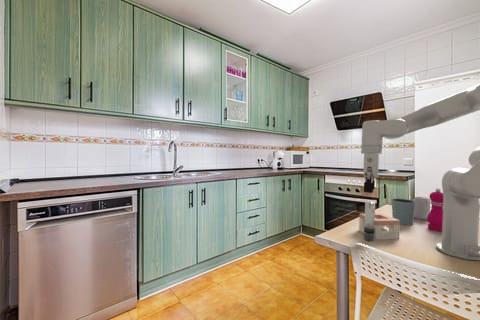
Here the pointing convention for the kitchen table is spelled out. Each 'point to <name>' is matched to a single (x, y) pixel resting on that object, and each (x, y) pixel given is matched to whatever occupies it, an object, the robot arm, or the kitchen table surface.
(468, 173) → the robot arm
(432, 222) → the pepper mill
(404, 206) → the grey teal tapered bin
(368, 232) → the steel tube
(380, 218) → the collar stand
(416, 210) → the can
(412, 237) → the kitchen table surface
